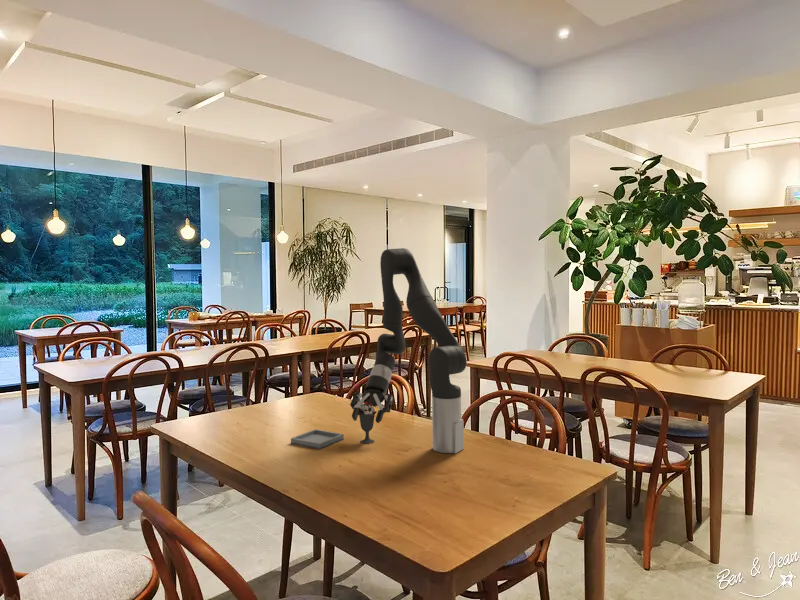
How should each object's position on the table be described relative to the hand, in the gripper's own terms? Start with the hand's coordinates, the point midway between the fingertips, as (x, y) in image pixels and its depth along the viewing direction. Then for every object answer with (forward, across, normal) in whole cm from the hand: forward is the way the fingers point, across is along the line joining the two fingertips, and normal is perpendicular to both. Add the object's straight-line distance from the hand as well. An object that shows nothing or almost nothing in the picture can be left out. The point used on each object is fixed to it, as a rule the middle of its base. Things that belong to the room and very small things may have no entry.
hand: (365, 420), depth 182 cm
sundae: (+5, 0, +6) cm, 8 cm away
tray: (+8, -16, +2) cm, 18 cm away
